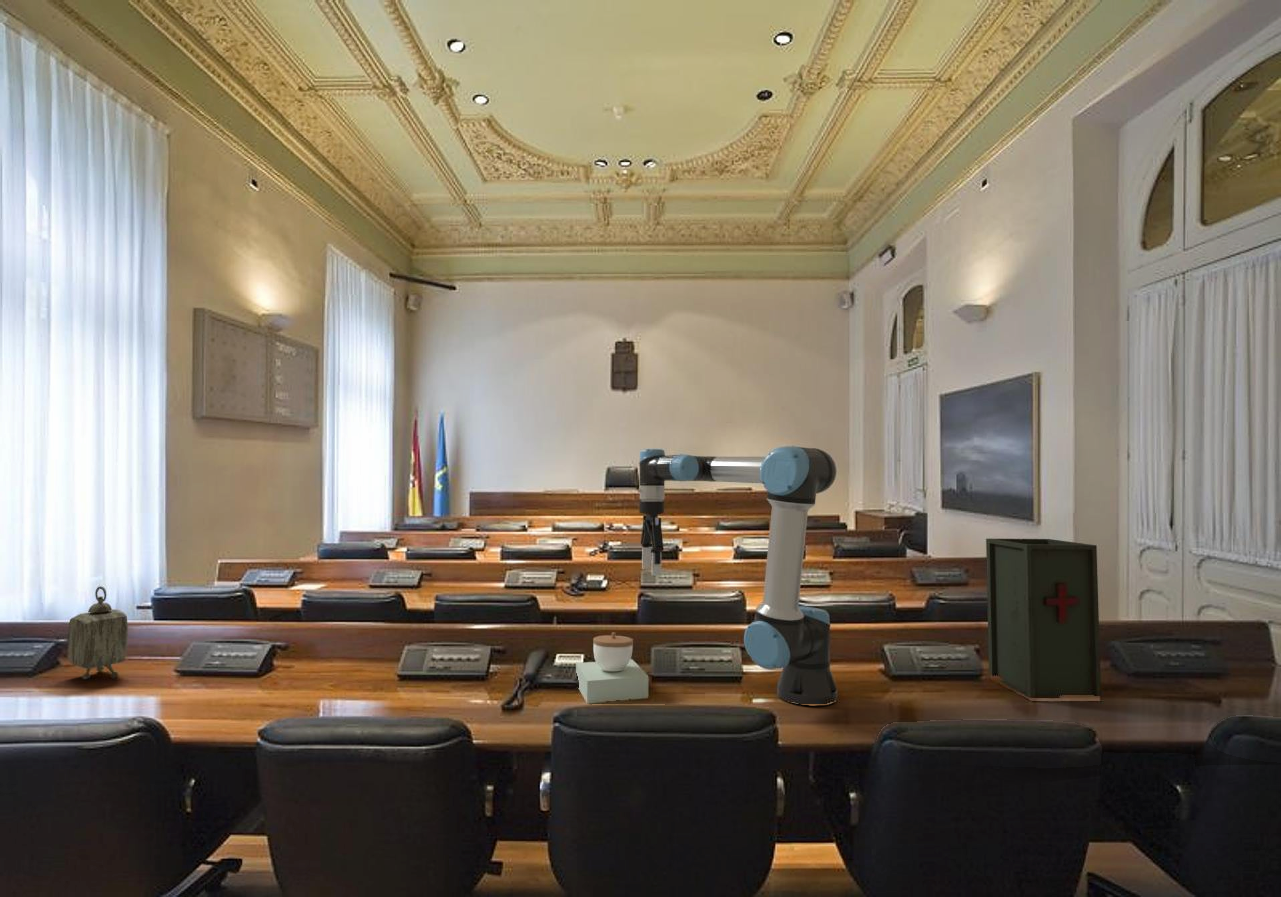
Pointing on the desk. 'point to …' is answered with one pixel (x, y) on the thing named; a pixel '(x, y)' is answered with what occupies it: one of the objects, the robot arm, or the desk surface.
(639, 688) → the sage block
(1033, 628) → the first aid box
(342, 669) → the desk surface
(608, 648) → the lidded jar
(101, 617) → the tabletop clock
